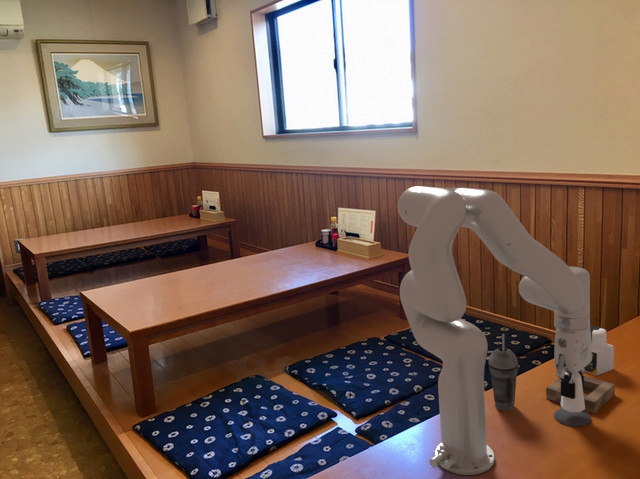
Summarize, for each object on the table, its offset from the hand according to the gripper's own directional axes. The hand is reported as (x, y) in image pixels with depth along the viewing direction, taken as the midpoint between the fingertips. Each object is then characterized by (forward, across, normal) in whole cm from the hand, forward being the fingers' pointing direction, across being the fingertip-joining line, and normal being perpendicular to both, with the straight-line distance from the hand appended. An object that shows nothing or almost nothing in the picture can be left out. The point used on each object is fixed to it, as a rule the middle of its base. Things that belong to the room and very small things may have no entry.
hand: (572, 392), depth 130 cm
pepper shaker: (+4, 0, 0) cm, 4 cm away
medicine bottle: (+7, +29, +7) cm, 31 cm away
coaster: (+7, 0, 0) cm, 7 cm away
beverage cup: (+7, -5, +15) cm, 17 cm away
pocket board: (+7, +11, +3) cm, 13 cm away
